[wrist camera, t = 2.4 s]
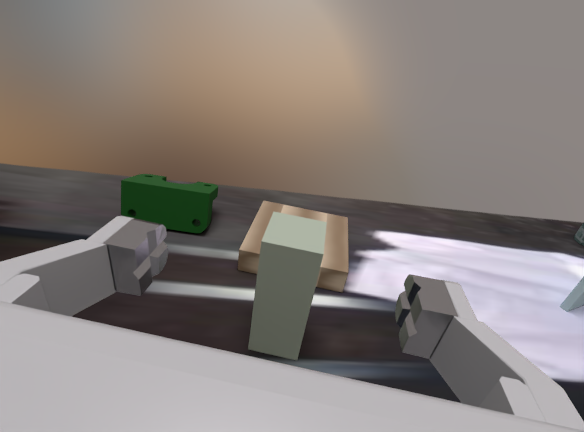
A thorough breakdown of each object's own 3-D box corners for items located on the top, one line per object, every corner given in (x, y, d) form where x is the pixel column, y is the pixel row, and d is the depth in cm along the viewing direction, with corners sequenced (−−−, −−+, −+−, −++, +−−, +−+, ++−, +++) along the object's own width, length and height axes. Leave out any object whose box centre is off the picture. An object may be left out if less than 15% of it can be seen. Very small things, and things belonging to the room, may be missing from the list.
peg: (248, 349, 29) (261, 241, 23) (259, 312, 33) (273, 211, 26) (297, 360, 28) (323, 254, 22) (303, 321, 32) (326, 222, 26)
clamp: (201, 240, 49) (230, 191, 46) (189, 256, 43) (221, 200, 41) (129, 200, 47) (156, 146, 45) (106, 210, 41) (135, 150, 39)
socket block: (237, 269, 37) (239, 249, 36) (261, 218, 48) (263, 200, 47) (342, 292, 37) (348, 272, 35) (342, 234, 48) (347, 217, 46)
